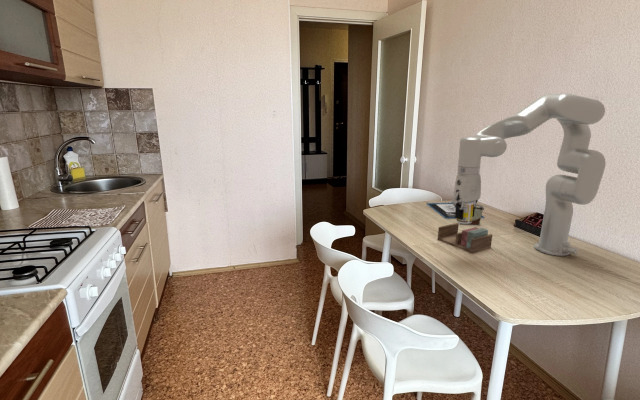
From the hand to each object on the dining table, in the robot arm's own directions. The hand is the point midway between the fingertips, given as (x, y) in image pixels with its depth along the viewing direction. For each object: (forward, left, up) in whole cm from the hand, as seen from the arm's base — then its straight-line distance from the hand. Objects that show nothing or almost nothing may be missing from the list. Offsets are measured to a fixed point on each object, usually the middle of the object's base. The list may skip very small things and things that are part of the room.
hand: (464, 216), depth 134 cm
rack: (+9, -13, -17) cm, 23 cm away
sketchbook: (+46, -52, -18) cm, 71 cm away
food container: (+27, -39, -17) cm, 51 cm away
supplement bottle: (0, 0, -2) cm, 2 cm away
